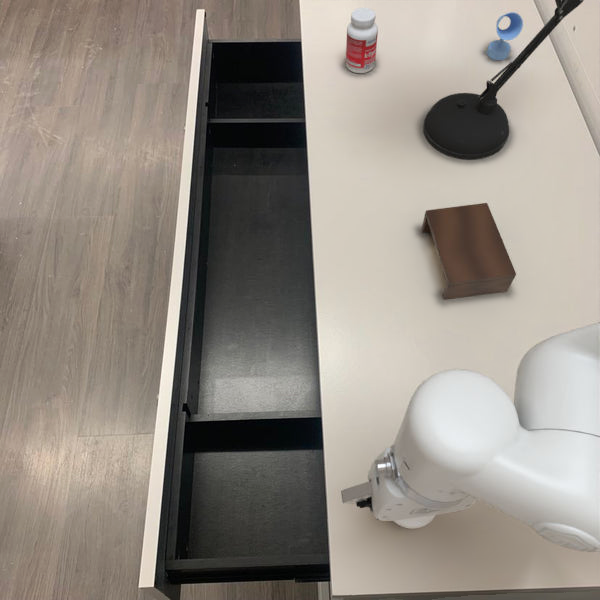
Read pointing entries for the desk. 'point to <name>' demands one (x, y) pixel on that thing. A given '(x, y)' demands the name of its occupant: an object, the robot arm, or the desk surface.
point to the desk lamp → (482, 107)
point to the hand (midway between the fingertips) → (408, 500)
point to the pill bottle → (361, 41)
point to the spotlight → (505, 37)
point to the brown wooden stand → (469, 250)
